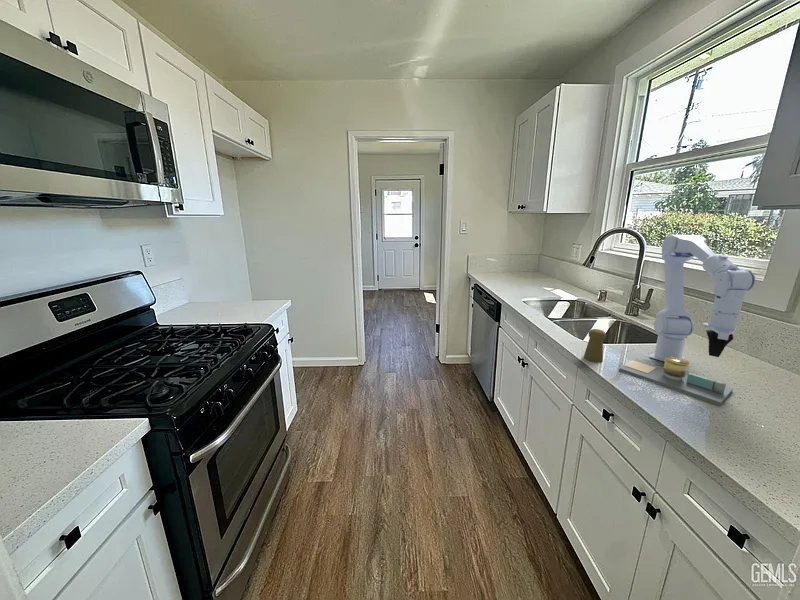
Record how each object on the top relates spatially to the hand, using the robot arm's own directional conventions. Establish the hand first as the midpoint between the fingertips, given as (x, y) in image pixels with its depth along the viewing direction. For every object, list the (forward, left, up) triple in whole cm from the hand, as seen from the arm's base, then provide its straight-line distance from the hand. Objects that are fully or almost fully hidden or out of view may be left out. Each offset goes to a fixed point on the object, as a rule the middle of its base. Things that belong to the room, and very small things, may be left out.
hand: (713, 355), depth 98 cm
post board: (+5, -7, -10) cm, 13 cm away
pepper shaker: (+9, -29, -10) cm, 32 cm away
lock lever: (+5, +1, -9) cm, 10 cm away
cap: (+5, -7, -7) cm, 11 cm away
